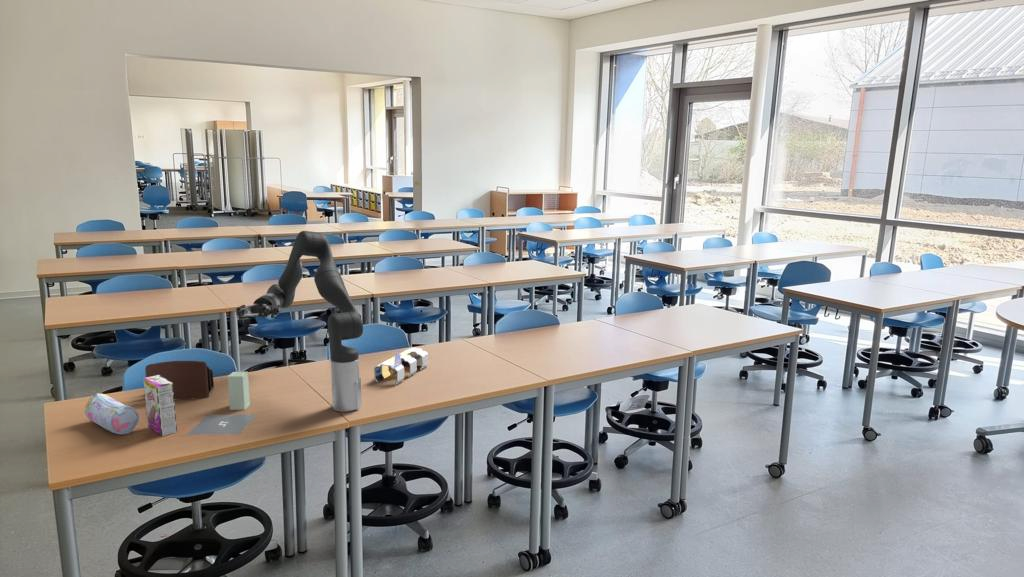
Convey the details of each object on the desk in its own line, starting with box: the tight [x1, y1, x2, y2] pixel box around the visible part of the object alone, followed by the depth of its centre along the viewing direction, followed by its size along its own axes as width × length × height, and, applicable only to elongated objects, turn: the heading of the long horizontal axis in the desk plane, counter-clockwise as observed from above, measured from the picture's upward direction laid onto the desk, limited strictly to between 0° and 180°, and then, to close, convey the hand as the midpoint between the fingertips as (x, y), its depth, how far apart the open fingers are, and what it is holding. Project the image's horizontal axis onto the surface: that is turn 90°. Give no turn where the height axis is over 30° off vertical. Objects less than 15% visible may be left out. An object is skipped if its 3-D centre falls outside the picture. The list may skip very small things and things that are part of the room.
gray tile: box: [186, 414, 257, 436], centre depth 209 cm, size 16×16×1 cm
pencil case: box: [84, 393, 140, 436], centre depth 205 cm, size 21×9×10 cm, turn 52°
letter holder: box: [144, 360, 215, 400], centre depth 234 cm, size 10×20×14 cm, turn 104°
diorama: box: [373, 347, 429, 386], centre depth 260 cm, size 25×10×13 cm, turn 160°
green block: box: [227, 371, 251, 411], centre depth 222 cm, size 5×5×12 cm
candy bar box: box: [142, 375, 178, 437], centre depth 202 cm, size 11×5×16 cm, turn 48°
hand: (251, 314), depth 229 cm, fingers open, 8 cm apart
